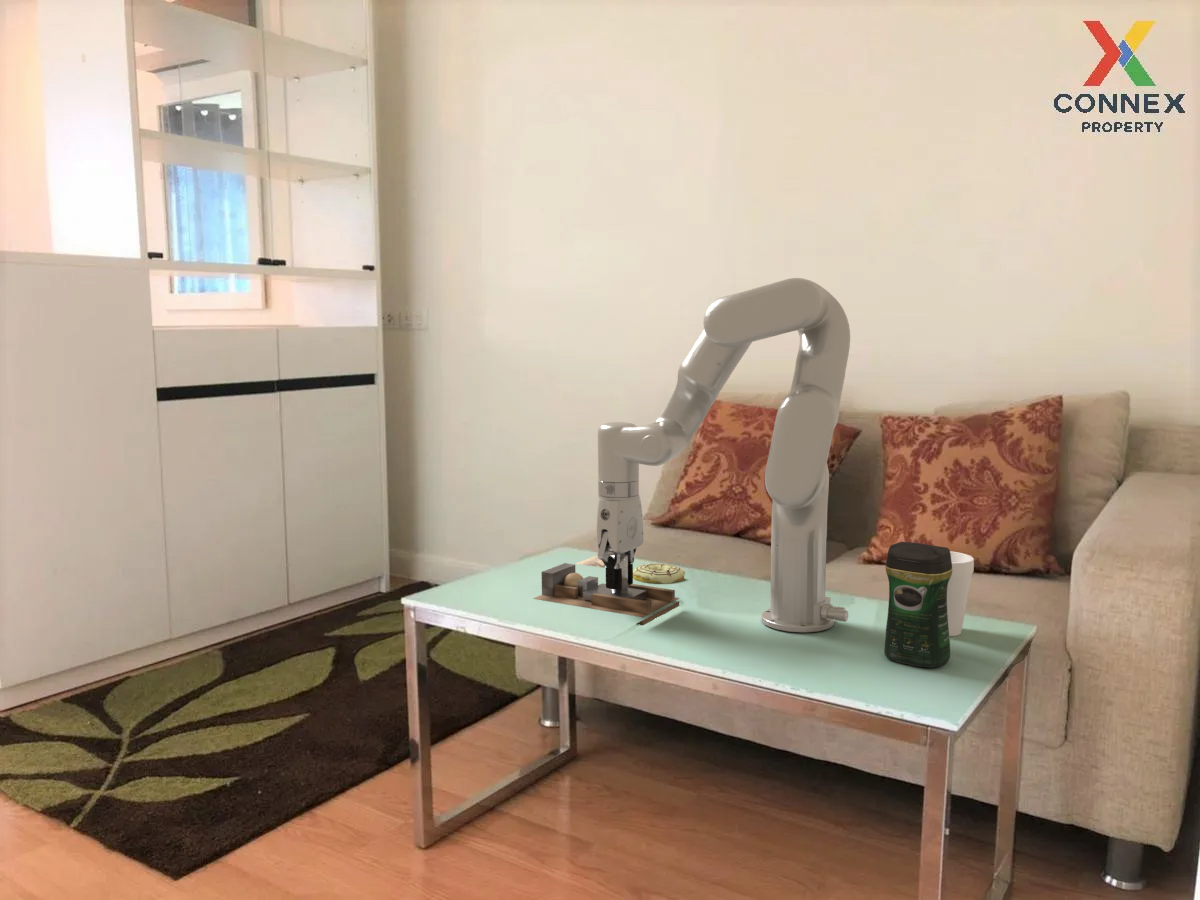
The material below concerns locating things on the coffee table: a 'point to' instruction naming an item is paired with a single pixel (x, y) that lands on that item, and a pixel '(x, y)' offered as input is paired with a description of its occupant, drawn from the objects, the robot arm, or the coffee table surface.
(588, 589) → the ram
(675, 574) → the decorated donut
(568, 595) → the brown piece
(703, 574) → the coffee table surface
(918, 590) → the coffee jar
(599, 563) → the newspaper
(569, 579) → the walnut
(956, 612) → the foam cup
